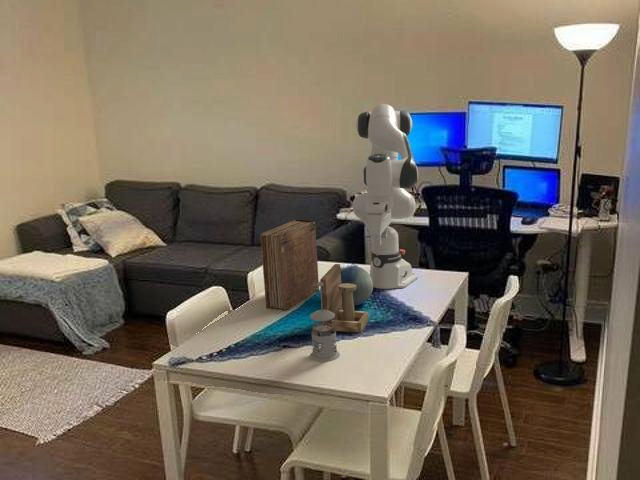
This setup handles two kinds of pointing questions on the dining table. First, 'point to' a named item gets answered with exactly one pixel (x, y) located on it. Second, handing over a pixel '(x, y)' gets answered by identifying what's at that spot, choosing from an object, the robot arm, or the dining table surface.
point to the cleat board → (339, 303)
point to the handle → (348, 300)
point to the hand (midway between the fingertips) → (381, 242)
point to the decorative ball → (358, 283)
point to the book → (289, 264)
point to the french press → (323, 336)
